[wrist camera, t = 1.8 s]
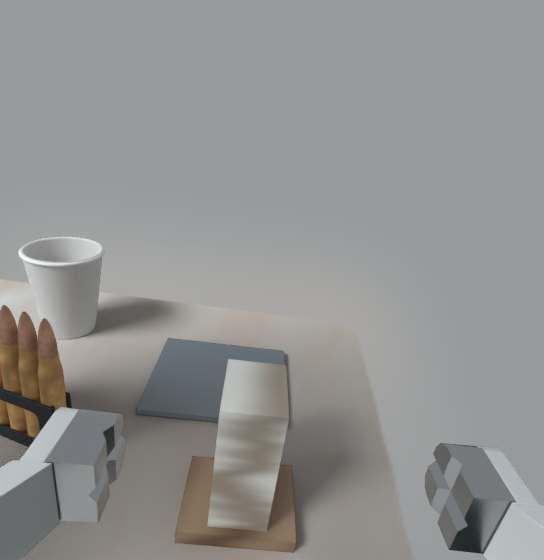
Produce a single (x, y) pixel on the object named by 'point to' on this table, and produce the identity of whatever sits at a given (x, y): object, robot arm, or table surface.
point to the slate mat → (195, 378)
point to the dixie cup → (65, 282)
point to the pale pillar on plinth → (244, 468)
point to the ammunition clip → (28, 377)
